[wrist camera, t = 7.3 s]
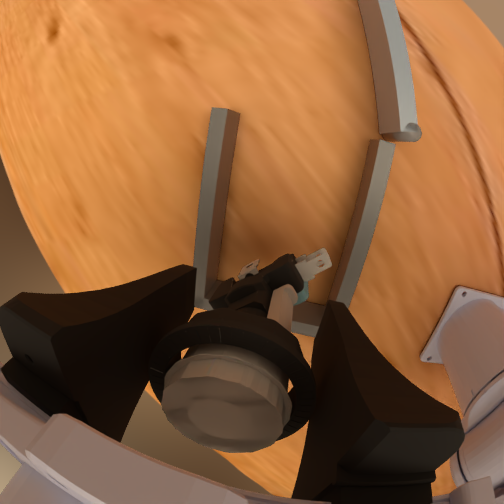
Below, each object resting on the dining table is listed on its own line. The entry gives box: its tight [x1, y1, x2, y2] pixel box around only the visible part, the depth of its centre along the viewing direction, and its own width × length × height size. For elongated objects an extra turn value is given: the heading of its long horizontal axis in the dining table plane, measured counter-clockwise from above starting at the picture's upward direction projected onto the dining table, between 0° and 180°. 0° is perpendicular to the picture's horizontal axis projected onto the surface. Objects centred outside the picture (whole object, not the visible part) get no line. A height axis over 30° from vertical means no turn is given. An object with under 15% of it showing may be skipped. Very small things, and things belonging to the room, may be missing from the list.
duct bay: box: [193, 107, 396, 337], centre depth 19 cm, size 11×14×3 cm
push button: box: [148, 248, 332, 453], centre depth 12 cm, size 7×5×10 cm
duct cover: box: [358, 0, 422, 142], centre depth 12 cm, size 12×1×5 cm, turn 6°
